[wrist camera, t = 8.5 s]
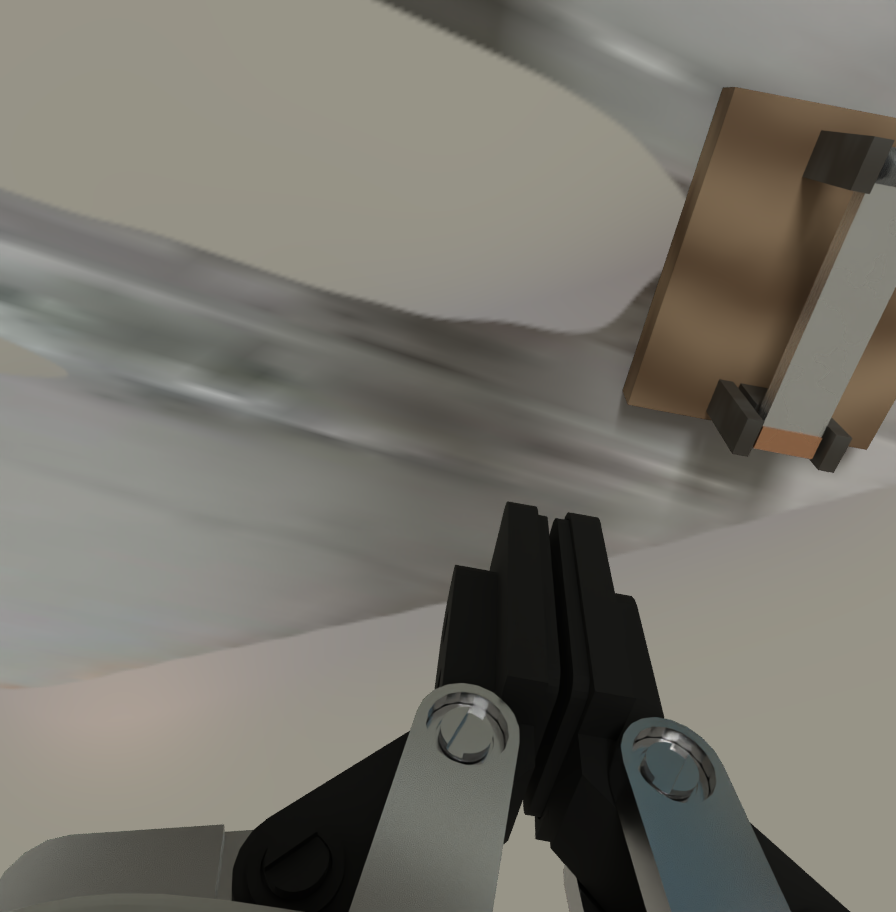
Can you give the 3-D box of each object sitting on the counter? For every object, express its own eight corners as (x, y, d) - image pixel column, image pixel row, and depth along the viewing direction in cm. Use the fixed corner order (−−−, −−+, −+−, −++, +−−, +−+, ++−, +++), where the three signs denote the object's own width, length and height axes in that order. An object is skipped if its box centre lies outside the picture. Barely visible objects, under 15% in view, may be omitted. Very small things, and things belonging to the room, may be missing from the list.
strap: (870, 143, 27) (890, 144, 26) (939, 157, 27) (963, 159, 26) (744, 437, 34) (754, 451, 32) (800, 447, 34) (813, 461, 32)
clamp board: (722, 87, 31) (775, 85, 25) (1009, 142, 31) (1132, 154, 25) (622, 390, 39) (643, 446, 32) (850, 433, 39) (913, 497, 33)
